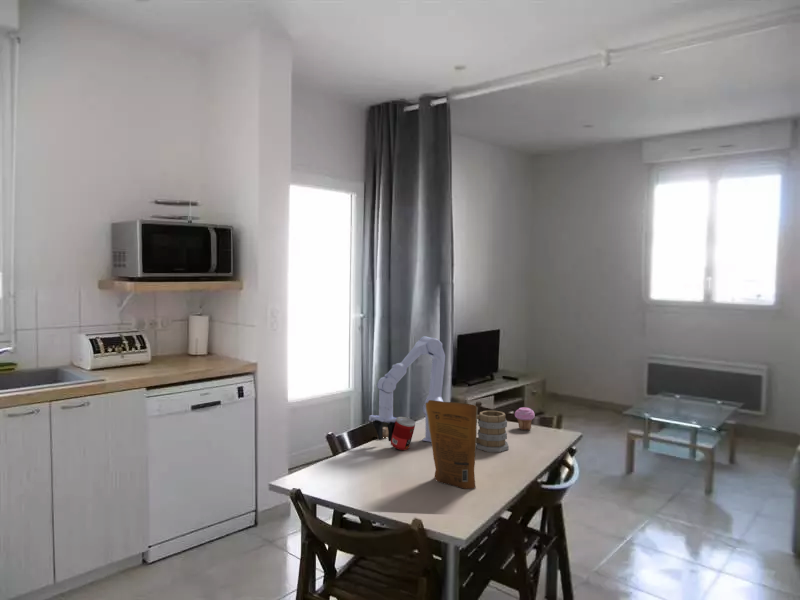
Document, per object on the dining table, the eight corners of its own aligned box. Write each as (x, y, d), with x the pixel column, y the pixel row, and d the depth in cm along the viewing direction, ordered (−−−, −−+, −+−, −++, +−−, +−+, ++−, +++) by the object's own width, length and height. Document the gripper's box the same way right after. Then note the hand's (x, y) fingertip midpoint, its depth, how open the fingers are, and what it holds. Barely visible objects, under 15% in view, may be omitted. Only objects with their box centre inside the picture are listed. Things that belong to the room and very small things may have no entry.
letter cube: (389, 436, 243) (389, 427, 243) (385, 439, 239) (385, 429, 239) (381, 435, 244) (381, 426, 244) (377, 437, 241) (377, 428, 241)
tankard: (506, 443, 232) (506, 407, 232) (509, 452, 220) (509, 415, 219) (458, 442, 234) (458, 406, 234) (458, 451, 222) (458, 413, 221)
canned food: (408, 452, 222) (415, 426, 220) (389, 447, 222) (395, 422, 220) (409, 444, 229) (415, 419, 227) (390, 439, 229) (396, 414, 227)
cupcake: (516, 431, 251) (516, 409, 250) (513, 426, 259) (513, 405, 259) (536, 431, 250) (536, 409, 250) (532, 426, 259) (532, 405, 259)
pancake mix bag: (472, 493, 178) (472, 406, 177) (423, 480, 190) (424, 398, 188) (482, 487, 183) (483, 403, 182) (435, 474, 195) (435, 395, 194)
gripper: (365, 406, 227) (365, 439, 227) (397, 410, 221) (397, 444, 221) (373, 403, 233) (373, 435, 234) (405, 407, 227) (404, 440, 228)
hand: (385, 439), depth 228 cm, fingers open, 4 cm apart
